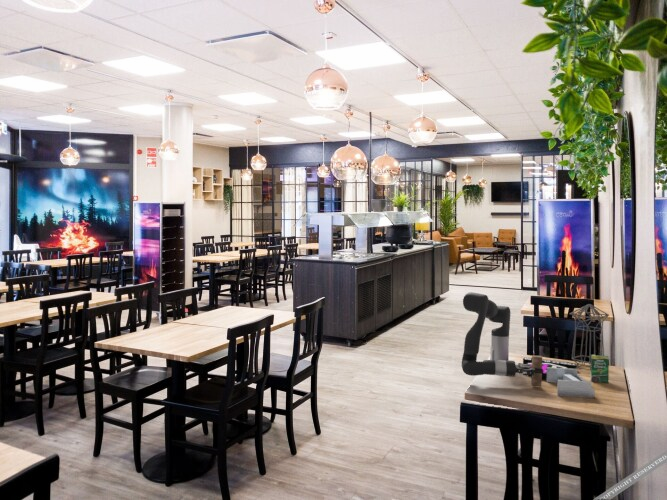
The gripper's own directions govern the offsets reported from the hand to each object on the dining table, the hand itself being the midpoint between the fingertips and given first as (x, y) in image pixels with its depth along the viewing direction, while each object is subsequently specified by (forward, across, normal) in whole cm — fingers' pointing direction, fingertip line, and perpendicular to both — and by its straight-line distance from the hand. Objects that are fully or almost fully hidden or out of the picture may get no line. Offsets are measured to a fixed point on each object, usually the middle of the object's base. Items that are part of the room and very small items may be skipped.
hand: (542, 370), depth 252 cm
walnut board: (-2, 0, +8) cm, 8 cm away
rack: (+12, 0, +8) cm, 14 cm away
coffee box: (+31, +16, +9) cm, 36 cm away
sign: (+9, +28, +9) cm, 31 cm away
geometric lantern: (+33, +42, +8) cm, 54 cm away
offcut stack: (+13, -1, +9) cm, 16 cm away
